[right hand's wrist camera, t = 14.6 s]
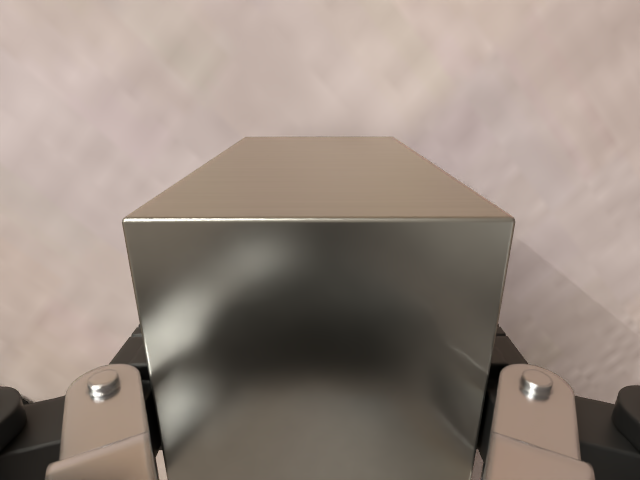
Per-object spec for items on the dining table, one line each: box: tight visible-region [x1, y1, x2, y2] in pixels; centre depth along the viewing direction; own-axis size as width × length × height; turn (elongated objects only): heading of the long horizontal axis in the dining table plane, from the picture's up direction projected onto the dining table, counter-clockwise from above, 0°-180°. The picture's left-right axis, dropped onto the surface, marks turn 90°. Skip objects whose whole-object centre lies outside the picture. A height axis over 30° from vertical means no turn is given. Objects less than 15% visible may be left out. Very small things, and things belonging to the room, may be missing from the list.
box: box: [122, 137, 515, 480], centre depth 16 cm, size 24×6×11 cm, turn 0°
